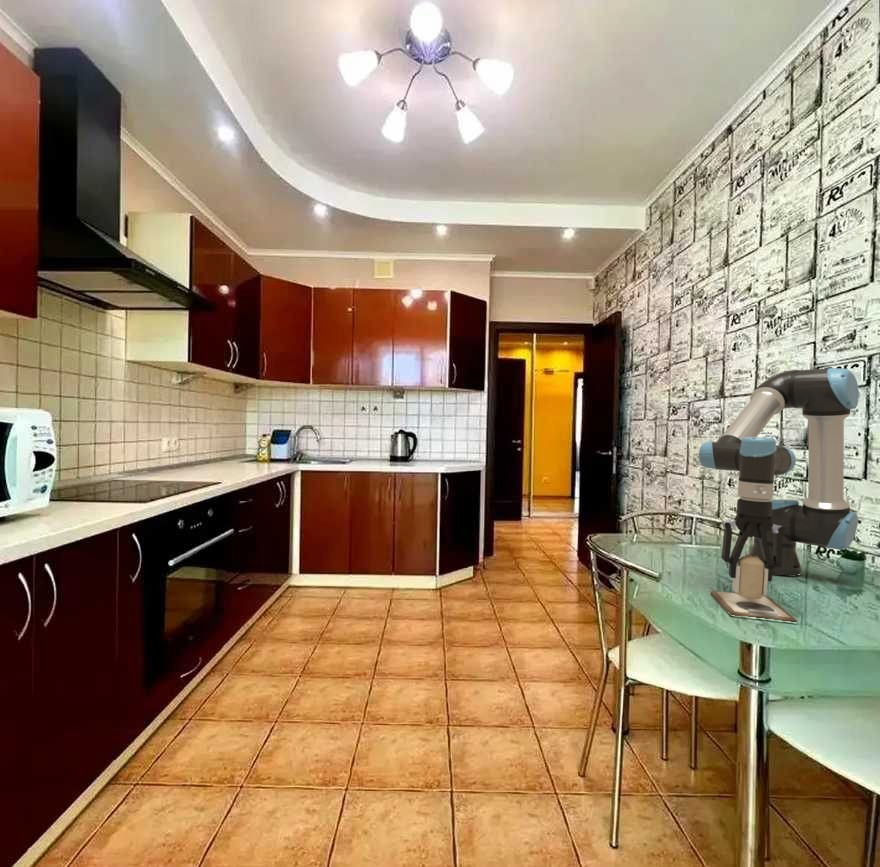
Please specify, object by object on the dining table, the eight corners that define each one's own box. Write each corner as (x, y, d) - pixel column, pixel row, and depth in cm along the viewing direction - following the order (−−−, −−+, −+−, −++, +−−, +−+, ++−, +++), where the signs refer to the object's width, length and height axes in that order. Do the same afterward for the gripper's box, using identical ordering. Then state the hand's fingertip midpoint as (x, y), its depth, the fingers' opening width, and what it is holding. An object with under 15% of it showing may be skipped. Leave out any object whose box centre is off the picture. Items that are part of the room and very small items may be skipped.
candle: (731, 591, 136) (733, 552, 136) (752, 592, 137) (754, 553, 136) (745, 599, 131) (748, 558, 131) (767, 599, 131) (769, 558, 131)
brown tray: (767, 600, 142) (768, 592, 142) (797, 624, 125) (797, 616, 125) (710, 594, 145) (710, 586, 145) (730, 617, 128) (731, 608, 128)
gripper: (718, 498, 132) (712, 592, 132) (803, 504, 127) (797, 601, 128) (710, 494, 139) (704, 583, 139) (790, 500, 135) (784, 592, 135)
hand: (749, 592), depth 134 cm, fingers closed on candle, 5 cm apart
